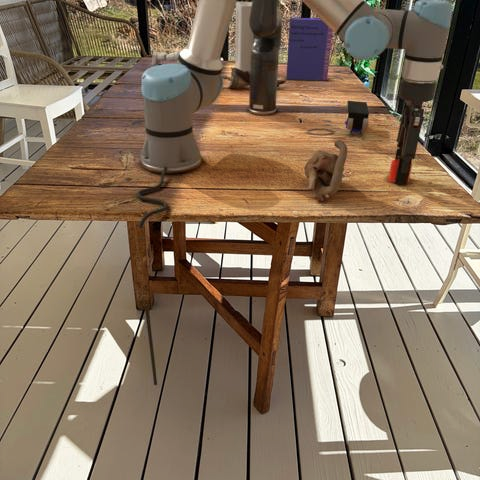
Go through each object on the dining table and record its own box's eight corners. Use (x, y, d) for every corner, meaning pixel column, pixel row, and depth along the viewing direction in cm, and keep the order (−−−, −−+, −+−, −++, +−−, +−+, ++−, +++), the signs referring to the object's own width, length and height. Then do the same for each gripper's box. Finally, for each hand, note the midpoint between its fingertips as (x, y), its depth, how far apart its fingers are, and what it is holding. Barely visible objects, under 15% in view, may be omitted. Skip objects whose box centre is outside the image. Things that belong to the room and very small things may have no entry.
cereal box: (326, 78, 209) (332, 18, 196) (327, 80, 205) (333, 19, 192) (286, 77, 210) (290, 17, 197) (286, 79, 206) (290, 18, 193)
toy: (171, 74, 211) (170, 58, 208) (148, 64, 229) (146, 49, 225) (218, 68, 223) (218, 53, 219) (192, 59, 240) (192, 44, 237)
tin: (392, 184, 113) (396, 166, 111) (385, 176, 117) (388, 159, 115) (412, 183, 114) (415, 166, 111) (404, 175, 118) (407, 158, 116)
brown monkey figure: (321, 192, 118) (322, 208, 103) (296, 168, 117) (293, 181, 103) (359, 155, 113) (365, 166, 99) (333, 130, 112) (335, 137, 98)
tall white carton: (273, 76, 210) (276, 6, 196) (239, 77, 209) (240, 6, 194) (266, 67, 226) (268, 2, 212) (235, 67, 225) (235, 1, 210)
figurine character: (367, 142, 142) (363, 122, 154) (371, 118, 138) (367, 99, 149) (344, 141, 143) (342, 120, 155) (348, 117, 138) (346, 98, 150)
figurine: (210, 87, 179) (288, 95, 182) (212, 65, 176) (291, 73, 180) (208, 84, 201) (278, 91, 205) (210, 64, 198) (280, 71, 202)
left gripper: (445, 90, 95) (421, 196, 107) (430, 72, 110) (410, 166, 122) (406, 88, 96) (386, 193, 108) (396, 70, 111) (380, 164, 123)
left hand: (399, 178), depth 115 cm, fingers closed on tin, 5 cm apart
